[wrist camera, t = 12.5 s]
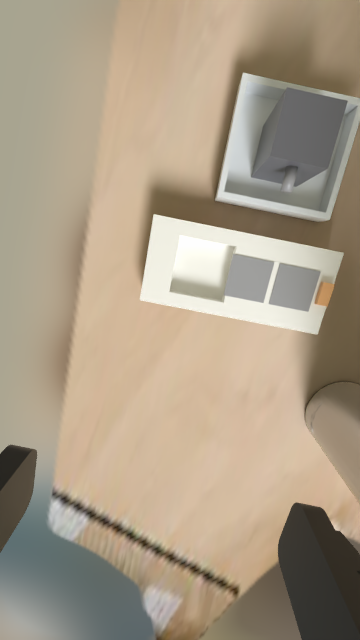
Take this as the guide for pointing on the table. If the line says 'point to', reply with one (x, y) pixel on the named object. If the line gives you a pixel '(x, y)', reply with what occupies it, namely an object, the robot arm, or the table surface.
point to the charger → (298, 138)
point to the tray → (242, 147)
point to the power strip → (238, 274)
